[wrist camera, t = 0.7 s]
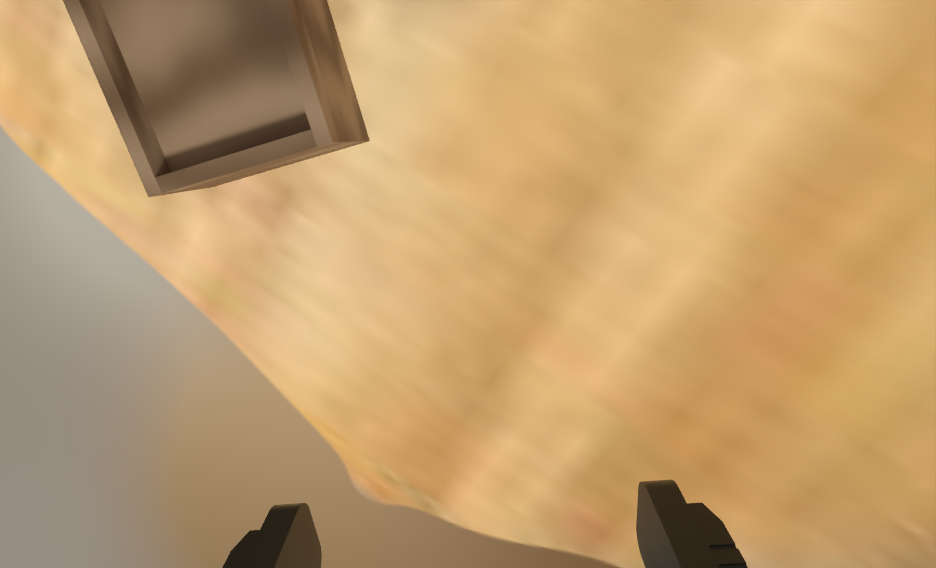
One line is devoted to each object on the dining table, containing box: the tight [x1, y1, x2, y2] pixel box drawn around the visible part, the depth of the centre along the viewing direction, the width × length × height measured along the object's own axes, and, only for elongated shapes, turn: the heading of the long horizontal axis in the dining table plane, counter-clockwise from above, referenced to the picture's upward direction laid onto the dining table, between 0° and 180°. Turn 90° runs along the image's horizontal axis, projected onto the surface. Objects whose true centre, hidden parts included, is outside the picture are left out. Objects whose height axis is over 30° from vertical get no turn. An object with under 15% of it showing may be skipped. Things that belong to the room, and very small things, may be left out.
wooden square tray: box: [63, 0, 370, 197], centre depth 30 cm, size 13×13×6 cm
